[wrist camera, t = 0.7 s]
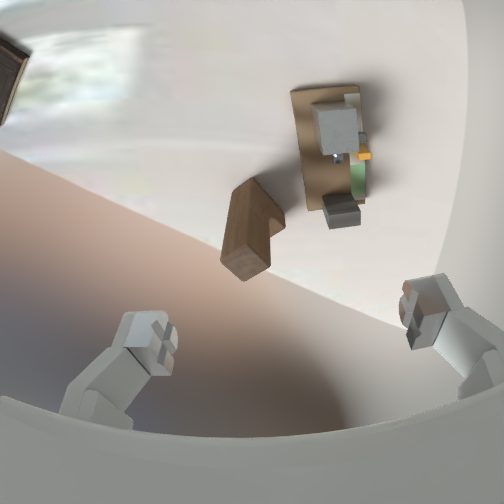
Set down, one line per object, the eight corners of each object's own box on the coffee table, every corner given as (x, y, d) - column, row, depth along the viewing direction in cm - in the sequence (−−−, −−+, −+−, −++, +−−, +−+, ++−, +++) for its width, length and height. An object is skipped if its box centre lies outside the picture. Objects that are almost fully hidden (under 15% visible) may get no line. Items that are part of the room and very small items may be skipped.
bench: (289, 91, 38) (295, 99, 33) (356, 85, 37) (373, 92, 31) (306, 206, 51) (313, 231, 45) (362, 199, 49) (375, 223, 43)
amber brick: (351, 144, 41) (358, 153, 38) (362, 143, 41) (370, 152, 38) (351, 150, 42) (359, 160, 39) (362, 149, 42) (370, 159, 38)
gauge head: (310, 103, 38) (317, 112, 33) (360, 99, 37) (374, 107, 32) (317, 156, 43) (324, 171, 38) (364, 151, 42) (376, 166, 37)
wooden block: (285, 213, 52) (293, 288, 37) (264, 226, 53) (265, 303, 39) (252, 176, 47) (247, 243, 33) (231, 191, 49) (218, 262, 35)
